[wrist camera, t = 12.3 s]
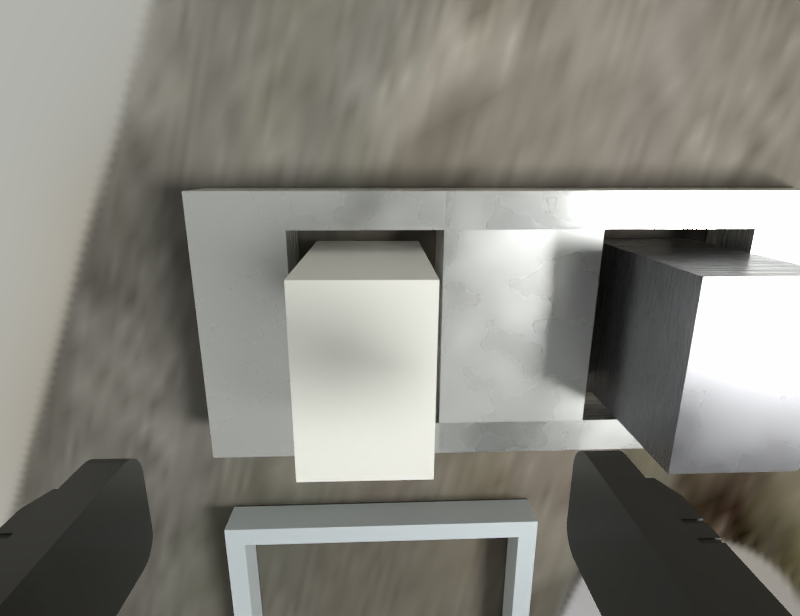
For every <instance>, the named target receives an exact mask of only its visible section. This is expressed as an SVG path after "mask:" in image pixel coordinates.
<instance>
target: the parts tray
mask: <svg viewBox="0 0 800 616" xmlns="http://www.w3.org/2000/svg"><path fill="white" fill-rule="evenodd" d="M537 524H538V521H537V519H536V516H535V514H534V512H533V510H532V508H531V505H530V503H529V501H528V499H518V500H480V501H442V502H404V503H366V504H328V505H290V506H251V507H234V509H233V511H232V513H231V516H230V518H229V520H228V523H227V525H226V527H225V530H224V532H225V541H226V549H227V558H228V566H229V575H230V583H231V592H232V600H233V609H234V616H263V615H262V605H261V595H260V584H259V574H258V564H257V554H256V545H269V544H303V543H337V542H371V541H405V540H440V539H474V538H508V545H507V558H506V571H505V585H504V598H503V611H502V616H529V609H530V598H531V588H532V577H533V567H534V556H535V545H536V535H537Z"/></svg>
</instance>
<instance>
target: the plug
mask: <svg viewBox="0 0 800 616" xmlns="http://www.w3.org/2000/svg"><path fill="white" fill-rule="evenodd" d="M284 288H285V304H286V320H287V337H288V353H289V370H290V386H291V403H292V419H293V436H294V452H295V468H296V482H328V481H377V480H427V479H434V448H435V414H436V380H437V346H438V312H439V278H438V276H437V274H436V273H435V271H434V269H433V267H432V265H431V263H430V261H429V260H428V258H427V256H426V254H425V252H424V250H423V248H422V247H421V245H420V243H419V241H317V242H316V243H315V244H314V245H313V246H312V248H311V249H310V250H309V251H308V252H307V253H306V255H305V256H304V257H303V258H302V259H301V261H300V262H299V263H298V264H297V265H296V267H295V268H294V269H293V270H292V271H291V273H290V274H289V275H288V276H287V277H286V279H285V280H284Z"/></svg>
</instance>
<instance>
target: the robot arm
mask: <svg viewBox="0 0 800 616" xmlns="http://www.w3.org/2000/svg"><path fill="white" fill-rule="evenodd" d="M567 533H568V541H569V545H570V549H571V553H572V556H573V558H574V560H575V562H576V564H577V566H578V569H579V571H580V573H581V575H582V577H583V579H584V581H585V583H586V585H587V587H588V589H589V591H590V593H591V595H592V597H593V599H594V601H595V603H596V605H597V607H598V609H599V611H600V613H601V615H602V616H792V615H791V614H790V613H789V612H788V611H787V610H786V608H784V606H783V605H782V604H781V603H780V602H779V601H778V600H777V599H776V598H775V596H774V595H773V594H772V593H771V592H770V591H769V590H768V589H767V588H766V587H765V586H764V584H763V583H762V582H761V581H760V580H759V579H758V578H757V577H756V576H755V575H754V574H753V573H752V572H751V570H750V569H749V568H748V567H747V566H746V565H745V564H744V563H743V562H742V561H741V559H739V557H738V556H737V555H736V554H735V553H734V552H733V551H732V550H731V549H730V547H729V546H728V545H727V544H726V543H722V542H721V538H720V537H719V536H718V534H717V533H716V532H715V531H714V530H713V529H712V528H711V527H710V526H709V525H708V524H707V523H704V522H703V518H702V517H701V516H700V515H699V514H698V513H697V512H696V511H695V509H694V508H693V507H692V506H691V505H690V504H689V503H688V502H687V501H686V500H685V499H684V497H683V496H681V495H680V494H678V493H677V492H675V491H673V490H672V489H670V488H669V487H667V486H666V485H664V484H663V483H661V482H659V481H658V480H656V479H655V478H645V477H644V476H643V474H642V473H641V472H640V471H639V470H638V469H637V467H636V466H635V465H634V464H633V463H632V462H631V460H630V459H629V458H628V457H627V456H626V455H625V454H624V453H623V452H622V451H579V452H578V453H577V454H576V456H575V459H574V464H573V473H572V482H571V491H570V500H569V509H568V518H567ZM152 537H153V533H152V524H151V518H150V512H149V506H148V500H147V494H146V488H145V482H144V476H143V470H142V466H141V464H140V462H139V461H138V460H137V459H92V460H89V461H87V462H85V463H84V464H83V465H82V466H81V467H80V468H79V469H78V470H77V471H76V472H75V473H74V474H73V475H72V476H71V477H70V478H69V479H68V480H67V481H66V482H65V483H64V484H63V485H62V486H61V487H60V488H59V489H53V490H51V491H50V492H48V493H46V494H45V495H43V496H41V497H40V498H38V499H36V500H35V501H33V502H31V503H30V504H28V505H26V506H25V507H23V508H21V509H20V510H19V511H18V512H17V513H15V514H14V515H13V516H12V517H11V518H10V519H9V520H8V521H7V522H6V523H5V524H4V525H3V526H2V527H1V528H0V616H116V615H117V614H118V612H119V610H120V609H121V607H122V605H123V604H124V602H125V600H126V599H127V597H128V595H129V594H130V592H131V590H132V589H133V587H134V585H135V584H136V582H137V580H138V578H139V577H140V575H141V573H142V572H143V570H144V568H145V566H146V564H147V562H148V559H149V555H150V552H151V547H152Z"/></svg>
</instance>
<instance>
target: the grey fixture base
mask: <svg viewBox="0 0 800 616" xmlns="http://www.w3.org/2000/svg"><path fill="white" fill-rule="evenodd" d="M182 199H183V207H184V216H185V224H186V232H187V241H188V249H189V257H190V266H191V274H192V282H193V291H194V299H195V307H196V316H197V324H198V333H199V341H200V349H201V358H202V366H203V374H204V383H205V391H206V399H207V408H208V416H209V424H210V433H211V441H212V449H213V458H224V457H269V456H295V452H294V436H293V419H292V403H291V386H290V370H289V353H288V337H287V320H286V304H285V288H284V280H285V279H286V277H287V276H288V275H289V274H290V273H291V271H292V270H293V269H294V268H295V267H296V265H297V264H298V263H299V262H300V261H299V244H298V230H436V250H435V273H436V274H437V276H438V278H439V312H438V346H437V380H436V414H435V448H434V453H449V452H494V451H539V450H585V449H630V448H644V449H645V450H646V451H647V452H648V453H649V454H650V455H651V456H652V457H653V458H654V459H655V460H656V461H657V462H658V464H659V465H660V466H661V467H662V468H663V469H664V470H665V471H666V472H667V473H668V474H689V473H730V472H771V471H798V470H799V466H800V188H203V189H195V190H187V191H182ZM605 229H708V232H707V238H706V242H702V241H698V240H693V239H604V231H605ZM586 387H587V388H588V389H589V390H590V391H586Z"/></svg>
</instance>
